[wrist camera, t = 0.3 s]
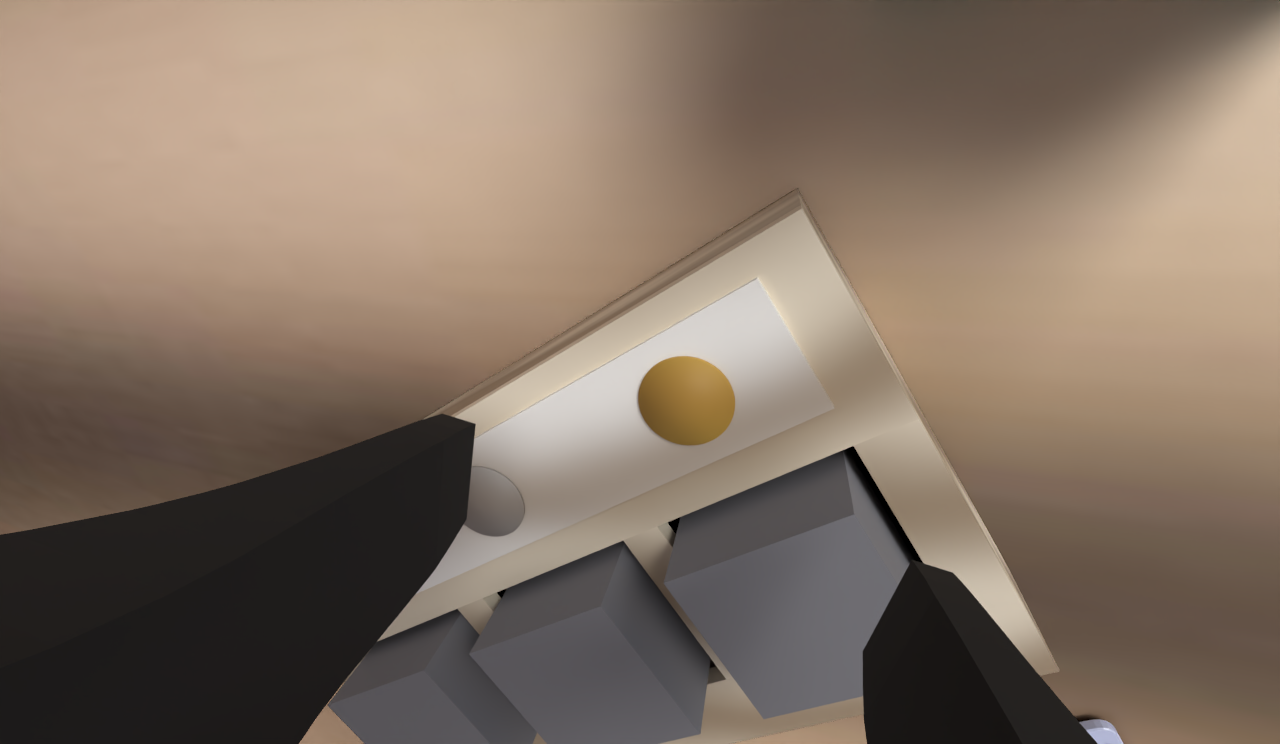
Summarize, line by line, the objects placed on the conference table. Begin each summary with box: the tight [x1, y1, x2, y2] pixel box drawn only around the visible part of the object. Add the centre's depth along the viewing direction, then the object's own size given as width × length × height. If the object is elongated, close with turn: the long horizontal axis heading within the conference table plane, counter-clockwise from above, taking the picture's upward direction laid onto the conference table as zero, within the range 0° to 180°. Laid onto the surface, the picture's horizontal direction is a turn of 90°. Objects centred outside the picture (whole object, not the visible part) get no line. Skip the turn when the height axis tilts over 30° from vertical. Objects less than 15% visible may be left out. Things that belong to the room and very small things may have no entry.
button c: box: [328, 609, 537, 744], centre depth 21 cm, size 5×5×4 cm
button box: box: [344, 188, 1060, 744], centre depth 20 cm, size 14×23×4 cm, turn 124°
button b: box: [469, 541, 711, 744], centre depth 18 cm, size 5×5×4 cm
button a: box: [664, 448, 915, 719], centre depth 16 cm, size 5×5×4 cm
